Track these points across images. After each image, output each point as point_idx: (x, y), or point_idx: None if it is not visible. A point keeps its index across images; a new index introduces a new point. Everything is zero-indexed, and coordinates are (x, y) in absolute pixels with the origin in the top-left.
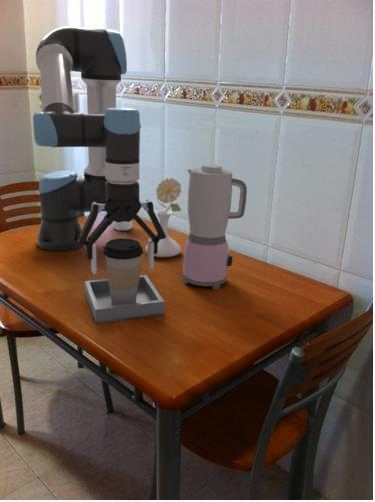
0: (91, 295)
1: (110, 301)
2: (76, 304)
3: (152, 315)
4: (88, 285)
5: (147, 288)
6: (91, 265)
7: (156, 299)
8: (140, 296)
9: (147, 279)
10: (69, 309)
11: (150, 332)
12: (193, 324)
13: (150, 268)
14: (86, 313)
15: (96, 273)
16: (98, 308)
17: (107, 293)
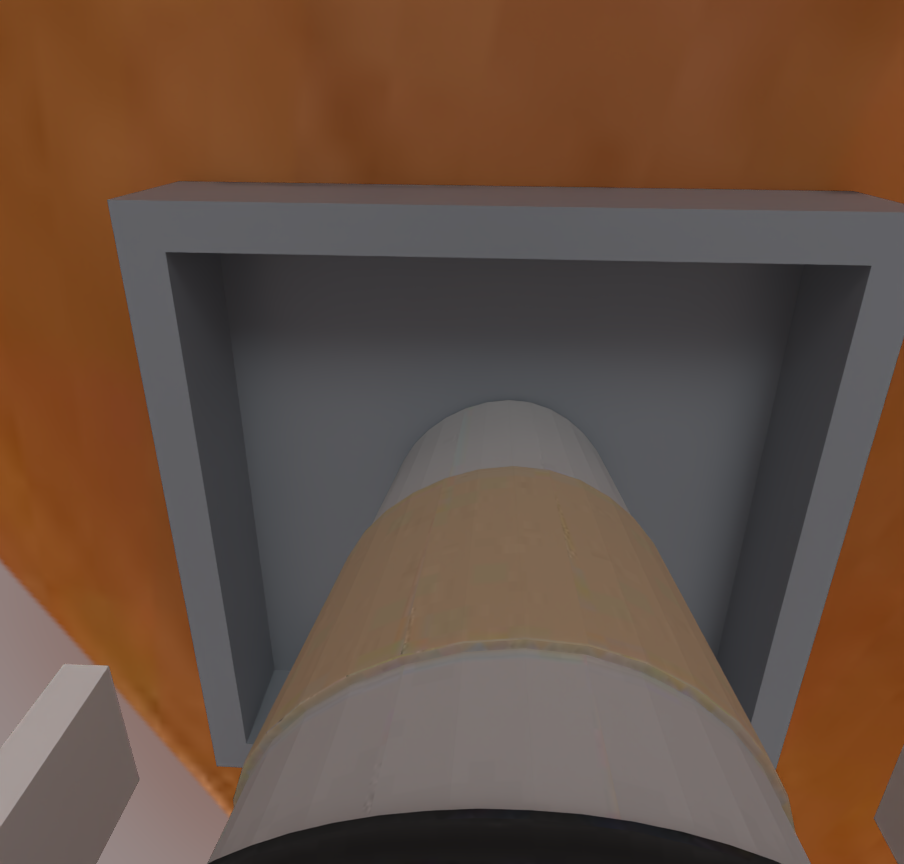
0: (190, 560)
1: (392, 459)
2: (109, 383)
3: None
4: (156, 339)
5: (795, 415)
6: (26, 717)
7: (743, 690)
8: (681, 441)
9: (873, 358)
10: (60, 451)
11: None
12: (843, 828)
13: (875, 819)
14: None
15: (136, 780)
16: (241, 755)
17: (392, 293)
